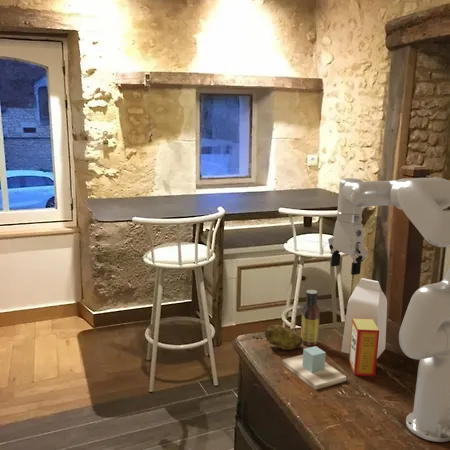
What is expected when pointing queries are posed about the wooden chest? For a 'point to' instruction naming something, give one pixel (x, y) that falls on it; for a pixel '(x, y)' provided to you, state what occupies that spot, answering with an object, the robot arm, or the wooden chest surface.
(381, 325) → the milk
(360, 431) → the wooden chest surface
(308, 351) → the teal block
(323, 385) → the birch board
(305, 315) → the sauce bottle
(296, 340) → the potato
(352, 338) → the baking soda box
